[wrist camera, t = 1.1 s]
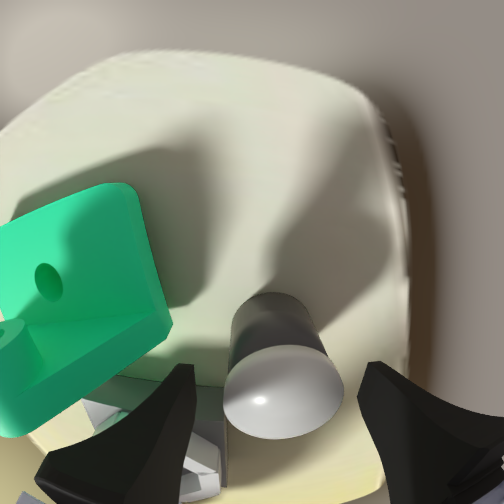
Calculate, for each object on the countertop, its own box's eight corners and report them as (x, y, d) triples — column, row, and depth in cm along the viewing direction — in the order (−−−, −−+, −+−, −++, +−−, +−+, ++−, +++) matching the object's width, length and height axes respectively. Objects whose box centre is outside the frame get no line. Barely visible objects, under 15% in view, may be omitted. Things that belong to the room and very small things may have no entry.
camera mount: (142, 177, 13) (-24, 185, 3) (177, 314, 15) (110, 470, 5) (3, 230, 13) (-106, 272, 3) (36, 329, 15) (-47, 409, 5)
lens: (306, 360, 16) (330, 434, 10) (229, 360, 16) (224, 438, 10) (316, 291, 15) (355, 354, 9) (229, 289, 14) (221, 356, 9)
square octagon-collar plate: (228, 459, 18) (226, 507, 13) (126, 445, 18) (111, 487, 13) (226, 387, 16) (221, 448, 11) (98, 371, 16) (67, 418, 11)
